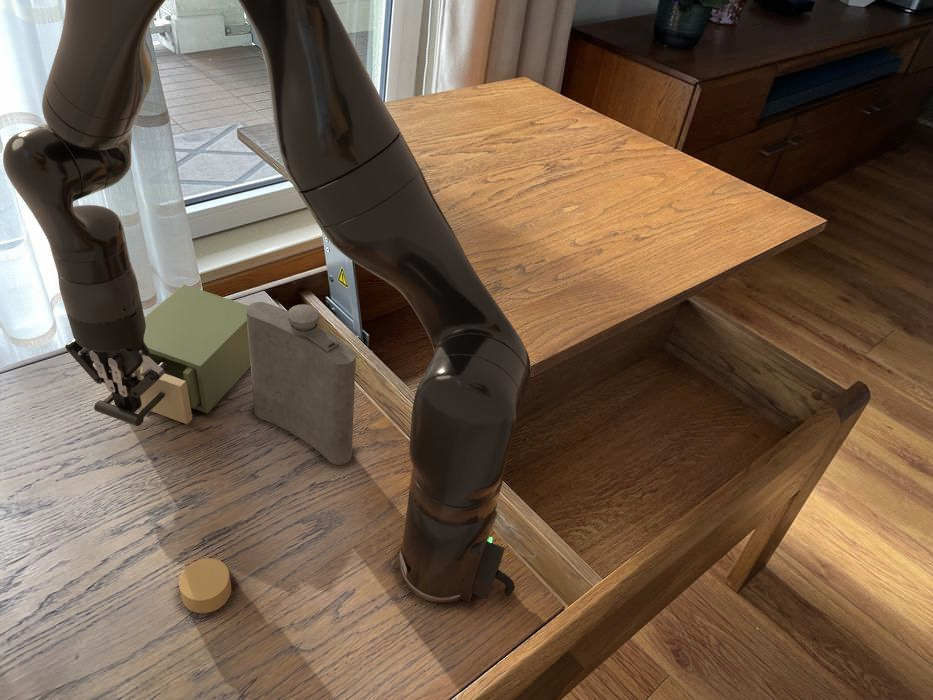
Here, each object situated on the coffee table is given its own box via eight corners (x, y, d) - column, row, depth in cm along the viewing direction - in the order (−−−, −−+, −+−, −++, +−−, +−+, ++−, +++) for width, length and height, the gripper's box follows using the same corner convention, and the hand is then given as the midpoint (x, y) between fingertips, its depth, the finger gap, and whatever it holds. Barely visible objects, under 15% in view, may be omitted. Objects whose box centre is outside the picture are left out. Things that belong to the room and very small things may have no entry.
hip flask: (249, 412, 97) (238, 293, 84) (271, 396, 100) (263, 278, 87) (341, 469, 92) (344, 351, 79) (360, 450, 94) (367, 333, 82)
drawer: (158, 454, 88) (150, 416, 84) (84, 426, 90) (72, 387, 86) (240, 367, 102) (237, 330, 98) (174, 344, 104) (168, 307, 100)
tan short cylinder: (240, 581, 78) (238, 567, 76) (213, 620, 74) (211, 607, 73) (200, 565, 79) (197, 551, 77) (172, 603, 75) (168, 589, 73)
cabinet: (207, 413, 96) (200, 366, 90) (130, 385, 98) (118, 337, 92) (261, 354, 106) (258, 308, 100) (190, 330, 108) (183, 284, 102)
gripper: (25, 299, 76) (63, 412, 88) (131, 337, 74) (155, 448, 85) (77, 265, 82) (106, 375, 93) (176, 299, 80) (194, 408, 91)
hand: (130, 410), depth 89 cm, fingers closed
